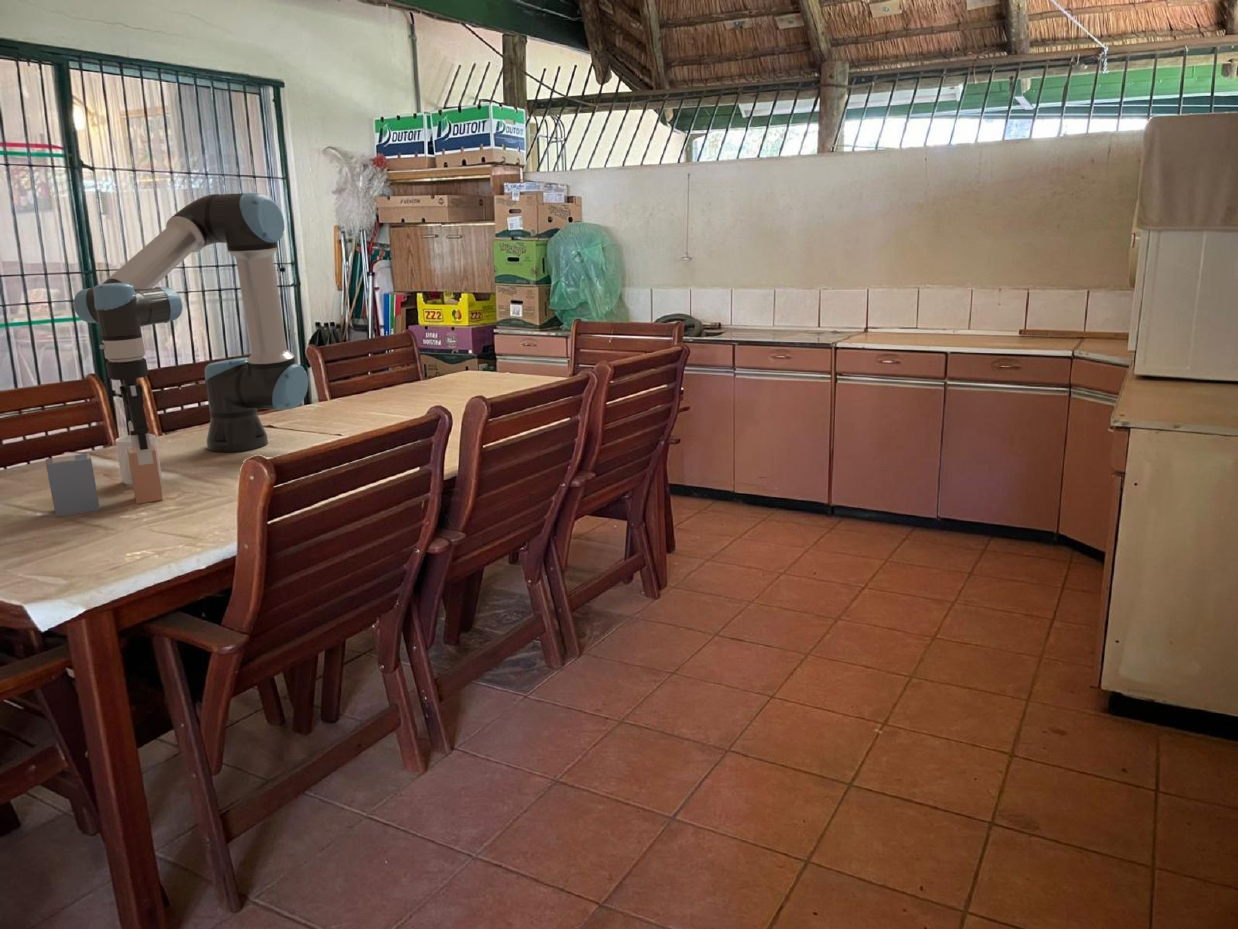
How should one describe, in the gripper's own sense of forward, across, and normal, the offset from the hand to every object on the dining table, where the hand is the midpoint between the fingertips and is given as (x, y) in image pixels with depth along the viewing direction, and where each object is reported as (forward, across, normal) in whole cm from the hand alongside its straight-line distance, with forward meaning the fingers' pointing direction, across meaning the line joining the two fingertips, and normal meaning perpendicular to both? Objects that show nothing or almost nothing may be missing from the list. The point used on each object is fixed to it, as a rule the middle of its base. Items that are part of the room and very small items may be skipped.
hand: (143, 457), depth 198 cm
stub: (+9, 0, 0) cm, 9 cm away
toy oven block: (+9, 0, -14) cm, 16 cm away
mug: (+10, -16, -1) cm, 18 cm away
